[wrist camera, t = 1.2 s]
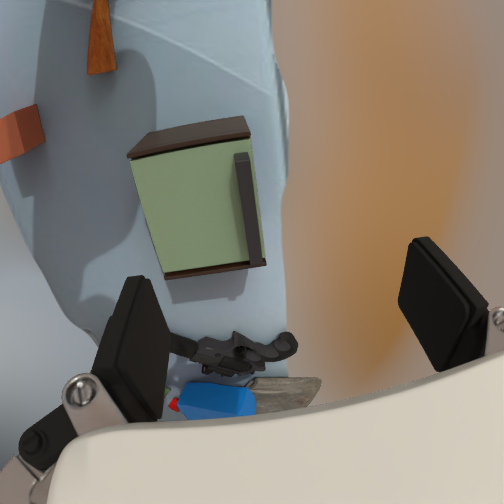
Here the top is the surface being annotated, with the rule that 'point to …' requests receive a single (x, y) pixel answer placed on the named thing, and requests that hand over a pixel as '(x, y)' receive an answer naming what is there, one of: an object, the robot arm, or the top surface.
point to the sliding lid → (202, 205)
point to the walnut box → (190, 138)
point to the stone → (283, 393)
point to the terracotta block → (20, 133)
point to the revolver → (233, 353)
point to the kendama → (100, 40)
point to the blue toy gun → (214, 401)
